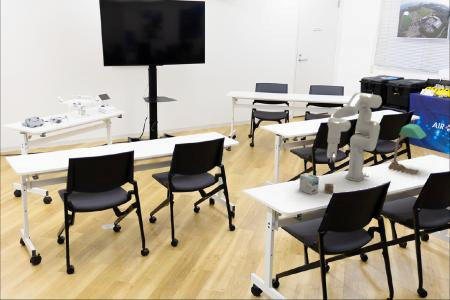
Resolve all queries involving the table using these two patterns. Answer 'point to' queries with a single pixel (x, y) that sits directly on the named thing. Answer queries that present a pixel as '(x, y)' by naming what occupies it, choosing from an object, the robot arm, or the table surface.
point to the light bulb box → (309, 183)
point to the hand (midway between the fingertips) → (330, 166)
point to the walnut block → (329, 188)
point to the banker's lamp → (406, 131)
